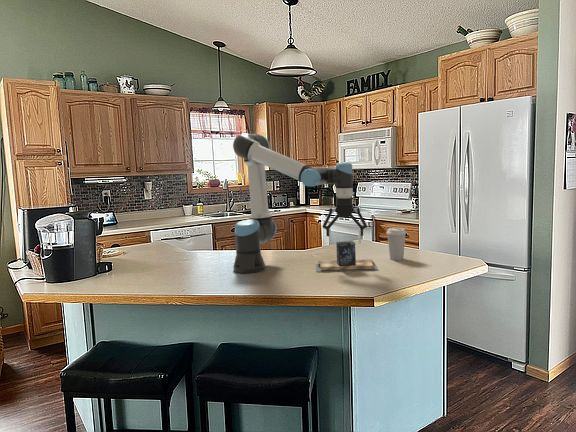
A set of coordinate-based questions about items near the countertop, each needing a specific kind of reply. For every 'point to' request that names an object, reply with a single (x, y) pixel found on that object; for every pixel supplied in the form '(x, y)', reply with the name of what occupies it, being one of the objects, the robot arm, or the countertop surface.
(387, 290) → the countertop surface
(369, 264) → the plank
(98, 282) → the countertop surface
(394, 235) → the coffee cup
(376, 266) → the underlay
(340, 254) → the box
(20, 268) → the countertop surface
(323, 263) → the floor strip
